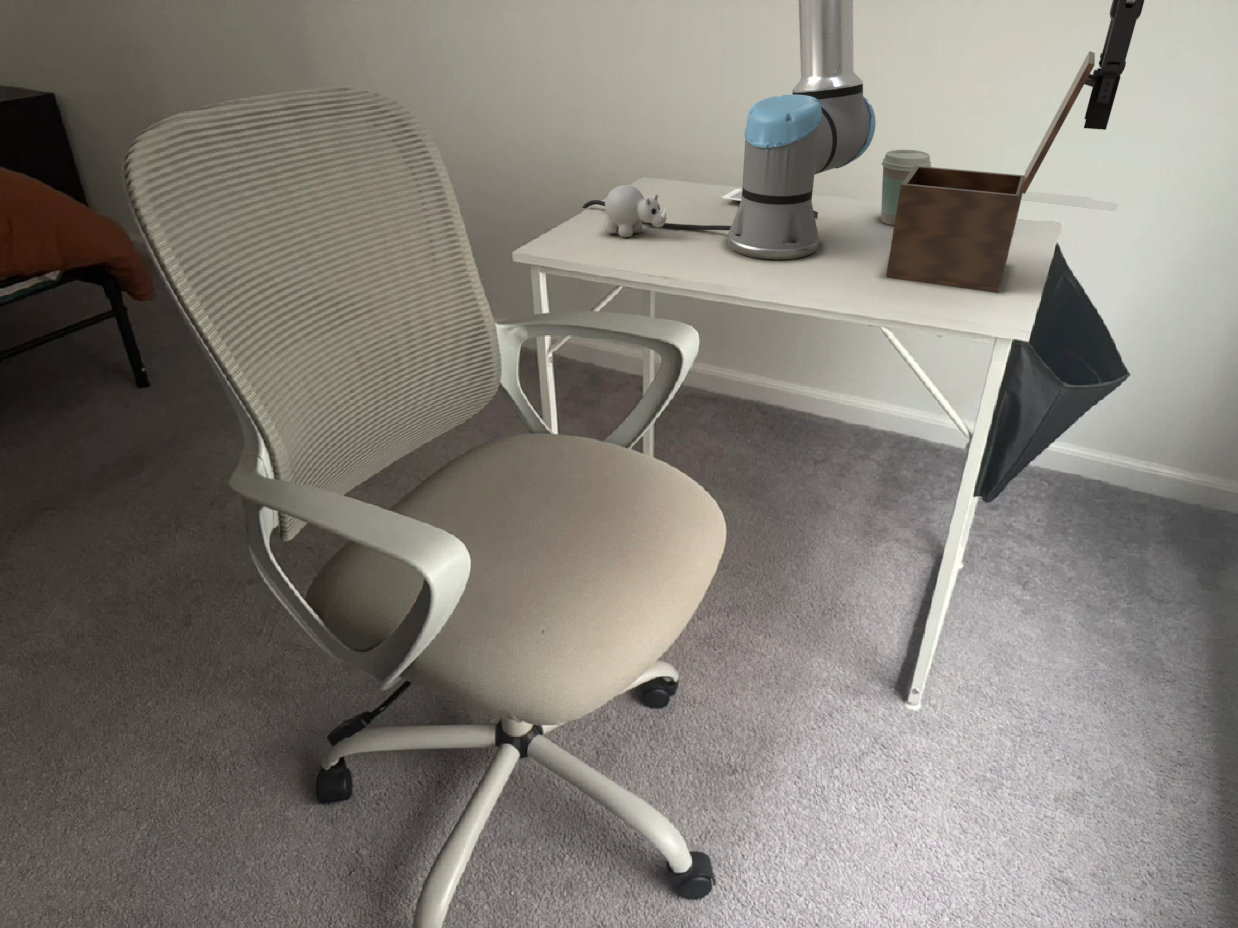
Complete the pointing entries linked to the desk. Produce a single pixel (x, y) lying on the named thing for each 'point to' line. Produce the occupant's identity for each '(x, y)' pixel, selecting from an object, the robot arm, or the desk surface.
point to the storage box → (954, 227)
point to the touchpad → (734, 195)
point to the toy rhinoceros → (631, 211)
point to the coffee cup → (898, 178)
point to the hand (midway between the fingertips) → (1094, 123)
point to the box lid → (1060, 118)
